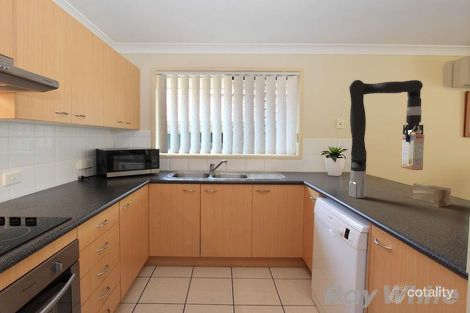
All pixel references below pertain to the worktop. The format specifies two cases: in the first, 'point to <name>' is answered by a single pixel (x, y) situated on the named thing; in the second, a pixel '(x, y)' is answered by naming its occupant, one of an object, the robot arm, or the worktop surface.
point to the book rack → (432, 194)
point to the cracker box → (413, 152)
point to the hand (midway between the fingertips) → (412, 142)
